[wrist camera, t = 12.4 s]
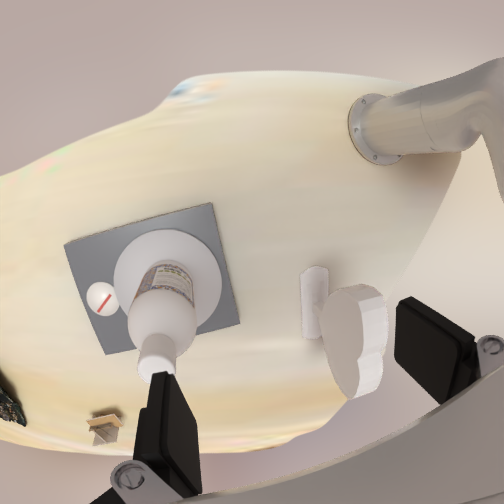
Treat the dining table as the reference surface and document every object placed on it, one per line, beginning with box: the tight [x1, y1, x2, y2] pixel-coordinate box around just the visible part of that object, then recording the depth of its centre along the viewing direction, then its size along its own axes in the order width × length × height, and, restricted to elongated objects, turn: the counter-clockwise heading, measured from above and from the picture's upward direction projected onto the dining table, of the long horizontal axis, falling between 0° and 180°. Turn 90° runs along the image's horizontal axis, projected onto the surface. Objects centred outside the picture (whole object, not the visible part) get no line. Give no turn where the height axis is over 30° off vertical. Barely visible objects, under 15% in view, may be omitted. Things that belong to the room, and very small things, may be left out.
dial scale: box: [64, 203, 240, 355], centre depth 40 cm, size 22×18×4 cm
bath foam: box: [128, 260, 197, 384], centre depth 29 cm, size 7×7×20 cm
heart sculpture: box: [300, 266, 388, 400], centre depth 40 cm, size 16×5×18 cm, turn 6°
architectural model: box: [86, 414, 123, 446], centre depth 42 cm, size 3×7×7 cm, turn 109°
